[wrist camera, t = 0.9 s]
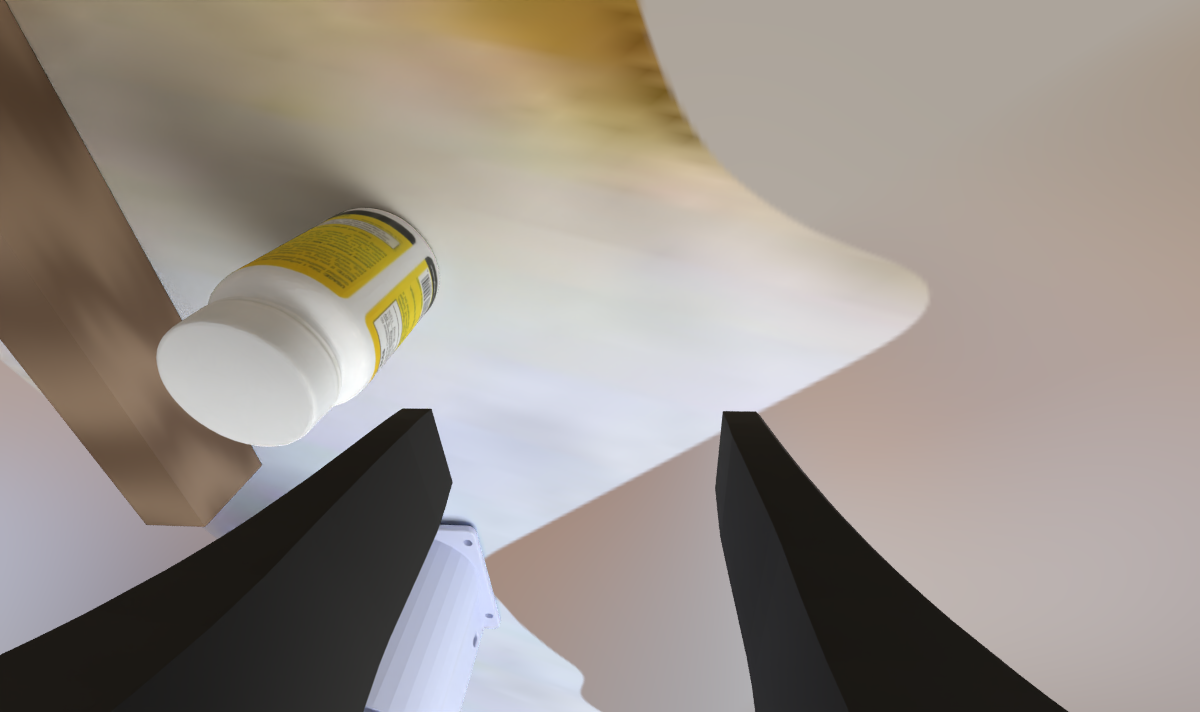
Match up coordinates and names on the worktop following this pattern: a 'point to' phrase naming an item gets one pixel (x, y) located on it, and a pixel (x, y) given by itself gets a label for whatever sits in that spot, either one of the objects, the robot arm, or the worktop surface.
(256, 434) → the supplement bottle
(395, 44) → the worktop surface
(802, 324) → the worktop surface
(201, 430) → the walnut board
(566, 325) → the worktop surface
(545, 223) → the worktop surface
